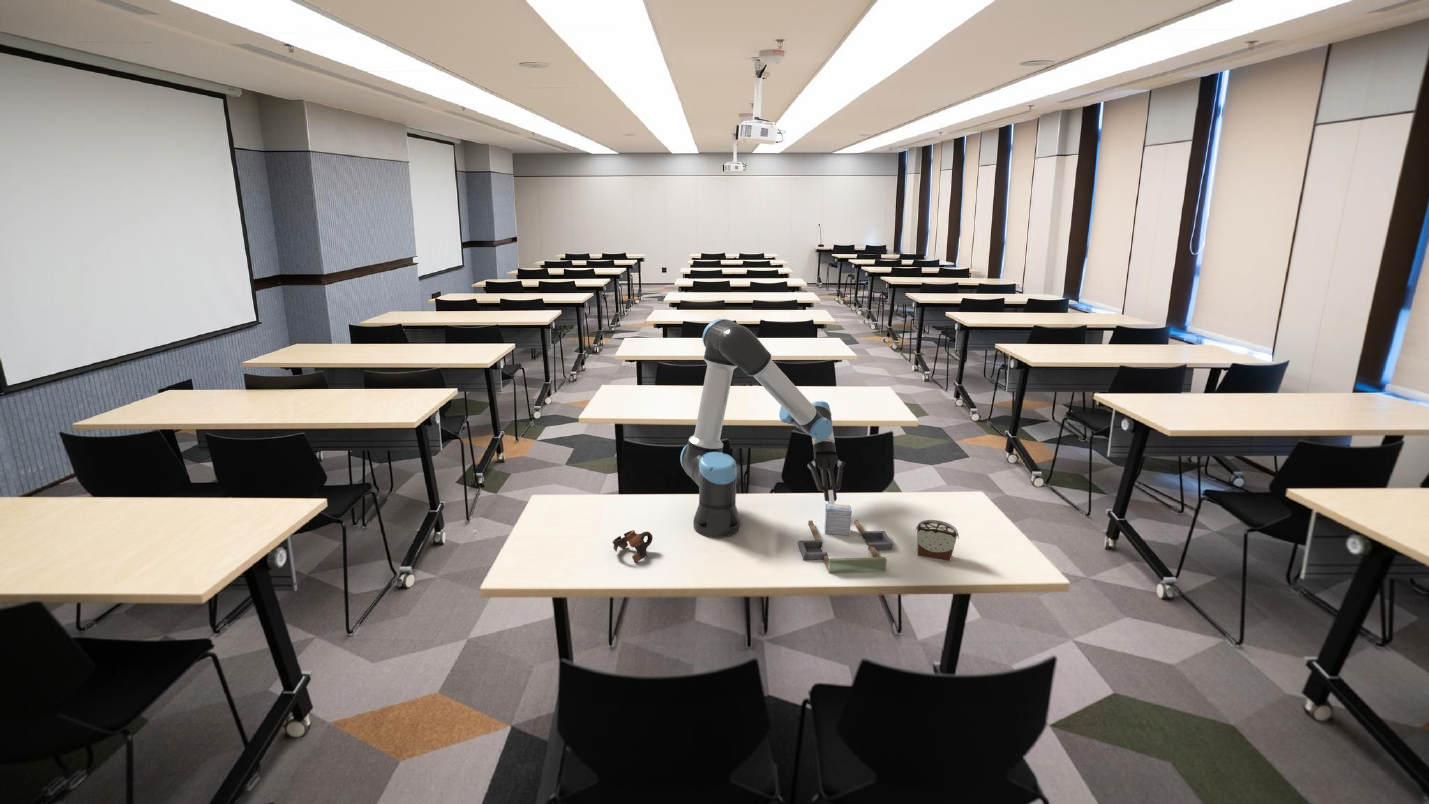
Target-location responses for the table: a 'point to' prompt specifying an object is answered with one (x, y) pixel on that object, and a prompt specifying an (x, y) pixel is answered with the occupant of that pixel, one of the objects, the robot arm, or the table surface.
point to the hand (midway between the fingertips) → (832, 510)
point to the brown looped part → (634, 543)
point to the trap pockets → (814, 552)
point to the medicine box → (837, 519)
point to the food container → (936, 539)
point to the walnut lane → (852, 564)
